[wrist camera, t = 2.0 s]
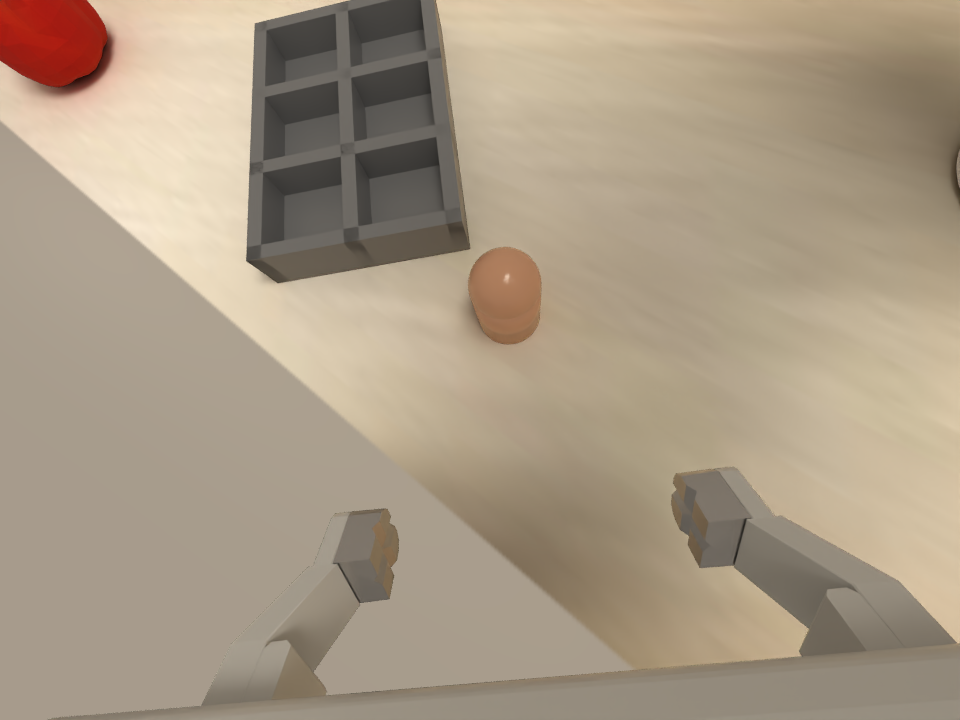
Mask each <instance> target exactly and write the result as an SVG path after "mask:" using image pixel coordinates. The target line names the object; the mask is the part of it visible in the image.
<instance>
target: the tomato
mask: <svg viewBox="0 0 960 720" xmlns="http://www.w3.org/2000/svg"><path fill="white" fill-rule="evenodd" d="M107 39H108V38H107V33H106V28H105V25H104V23H103V22H102V20H101V18H100V17H99V15H98V14H97V12H96V10H95V9H94V8H93V7H92V6H91V5H90V3H89V2H88V1H87V0H0V61H1V62H3V63H4V64H6V65H8V66H9V67H11V68H12V69H14V70H15V71H17V72H18V73H20V74H21V75H23V76H25V77H27V78H30V79H32V80H34V81H36V82H39V83H41V84H44V85H48V86H54V87H61V86H65V85H67V84H70V83H72V82H73V81H74V80H75V79H77V78H80V77H82V76H85V75H89V74H90V73H91V72H92V71H94V70H95V69H96V68H97V65H98V63H99V61H100V59H101V57H102V49H103V48H104V46H105V44H106V41H107Z"/></svg>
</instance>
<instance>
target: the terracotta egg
mask: <svg viewBox="0 0 960 720" xmlns="http://www.w3.org/2000/svg"><path fill="white" fill-rule="evenodd" d="M541 284H542V283H541V275H540V272H539V269H538V267H537V265H536V264H535V262H534V261H533V260H532V259H531V258H530V257H529V256H528V255H527V254H526V253H524V252H522V251H520V250H518V249H515V248H511V247H500V248H495V249H492V250H490V251H488V252H486V253H485V254H483V255H482V256H481V257H480V258H479V259H478V260H477V261H476V262H475V264H474V265H473V267H472V269H471V272H470V274H469V279H468V290H469V295H470V298H471V301H472V304H473V306H474V309H475V312H476V314H477V317H478V320H479V322H480V325H481V327H482V329H483V331H484V332H485V334H486V335H487V336H488V337H489V338H491V339H492V340H494V341H496V342H498V343H502V344H515V343H519V342H522V341H524V340H525V339H527V338H528V337H529V336H531V335H532V334H533V332H534V331H535V329H536V328H537V326H538V323H539V318H540V302H541Z"/></svg>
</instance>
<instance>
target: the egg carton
mask: <svg viewBox="0 0 960 720" xmlns="http://www.w3.org/2000/svg"><path fill="white" fill-rule="evenodd" d="M466 249H470V244H469V237H468V229H467V221H466V214H465V206H464V198H463V191H462V183H461V175H460V167H459V160H458V152H457V144H456V137H455V129H454V121H453V114H452V106H451V98H450V91H449V83H448V75H447V68H446V60H445V52H444V45H443V37H442V29H441V24H440V19H439V14H438V9H437V4H436V0H350V1H345V2H341V3H337V4H333V5H329V6H325V7H321V8H317V9H313V10H308V11H304V12H300V13H296V14H292V15H288V16H284V17H280V18H275V19H271V20H267V21H263V22H259V23H255V33H254V61H253V89H252V117H251V145H250V173H249V201H248V229H247V257H246V261H247V262H249V263H250V264H251V265H253V266H254V267H256V268H257V269H259V270H260V271H261V272H263V273H264V274H266V275H267V276H269V277H270V278H271V279H273V280H274V281H276V282H277V283H281V282H287V281H292V280H298V279H304V278H309V277H315V276H320V275H326V274H332V273H337V272H343V271H349V270H354V269H360V268H365V267H371V266H377V265H382V264H388V263H393V262H399V261H405V260H410V259H416V258H421V257H427V256H433V255H438V254H444V253H450V252H455V251H461V250H466Z"/></svg>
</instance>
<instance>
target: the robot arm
mask: <svg viewBox="0 0 960 720" xmlns="http://www.w3.org/2000/svg"><path fill="white" fill-rule="evenodd" d="M956 170H957V179H958V184H959V188H960V150H959V153H958V158H957V169H956ZM673 484H674V486H675V488H676V491H675V492H674V493H673V494H672V499H671V505H672V511H673V515H674V517H675V520H676V523H677V525H678V527H679V529H680V530H681V531H683V532H684V533H686V534H687V535H688V536H689V539H688V546H689V548H690V550H691V552H692V554H693V556H694V558H695V560H696V562H697V563H698V565H699V567H700V568H707V567H721V566H734V568H736V569H737V570H738V571H739V572H740V573H742V574H743V575H744V576H745V577H747V578H748V579H749V580H750V581H751V582H753V583H754V584H755V585H756V586H757V587H759V588H760V589H761V590H762V591H764V592H765V593H766V594H767V595H768V596H770V597H771V598H772V599H773V600H774V601H776V602H777V603H778V604H779V605H781V606H782V607H783V608H784V609H785V610H787V611H788V612H789V613H790V614H792V615H793V616H794V617H795V618H796V619H798V620H799V621H800V622H801V623H802V624H804V625H805V626H806V627H807V628H809V630H808V632H807V634H806V636H805V638H804V640H803V643H802V645H801V647H800V650H799V652H800V654H801V655H802V656H801V657H789V658H777V659H765V660H752V661H740V662H728V663H716V664H704V665H691V666H679V667H667V668H655V669H642V670H630V671H618V672H606V673H594V674H581V675H569V676H558V677H545V678H533V679H521V680H509V681H496V682H484V683H472V684H460V685H449V686H436V687H424V688H411V689H399V690H387V691H375V692H363V693H351V694H340V695H328V696H325V695H326V689H325V687H324V685H323V684H322V683H321V681H320V680H319V679H318V677H317V676H316V675H315V674H314V673H313V672H314V670H315V669H316V668H317V666H318V665H319V663H320V662H321V660H322V659H323V657H324V656H325V655H326V653H327V652H328V650H329V649H330V647H331V646H332V645H333V643H334V642H335V640H336V639H337V637H338V636H339V635H340V633H341V632H342V630H343V629H344V627H345V626H346V624H347V623H348V622H349V620H350V619H351V617H352V616H353V614H354V613H355V612H356V610H357V609H358V607H359V606H360V604H359V603H364V602H371V601H379V600H387V599H390V594H391V588H392V584H393V578H394V574H393V572H392V570H391V567H392V566H393V564H394V563H395V562H396V561H397V557H398V551H399V550H398V549H399V539H398V534H397V530H396V528H395V526H394V525H392V524H390V523H389V522H390V518H391V516H390V514H389V511H388V509H374V510H363V511H352V512H344V513H335V515H334V516H333V517H332V518H331V520H330V523H329V525H328V528H327V531H326V533H325V536H324V538H323V541H322V544H321V546H320V549H319V552H318V554H317V557H316V559H315V562H314V565H313V566H311V567H307V568H306V569H305V570H304V571H303V572H302V574H300V575H299V576H298V577H297V578H296V579H295V580H294V581H293V582H292V583H291V584H290V585H289V587H287V588H286V589H285V590H284V591H283V592H282V593H281V594H280V595H279V596H278V597H277V598H276V600H274V602H272V603H271V604H270V605H269V606H268V607H267V608H266V610H264V611H263V612H262V613H261V614H260V615H259V616H258V617H257V618H256V620H254V621H253V622H252V623H251V624H250V625H249V626H248V627H247V628H246V629H245V630H244V631H243V633H241V635H239V636H238V638H236V639H235V640H234V641H233V642H232V644H231V646H230V647H229V649H228V652H227V654H226V656H225V658H224V660H223V662H222V664H221V666H220V668H219V670H218V672H217V674H216V676H215V678H214V681H213V682H212V685H211V687H210V689H209V691H208V693H207V695H206V697H205V699H204V701H203V703H202V705H201V706H194V707H182V708H169V709H157V710H145V711H133V712H121V713H108V714H96V715H83V716H70V717H59V718H52V719H48V720H960V643H957V642H956V641H955V640H954V639H953V638H952V637H951V636H950V635H949V634H948V633H947V632H946V631H945V630H944V629H943V627H942V626H941V625H940V624H939V623H938V622H937V621H936V620H935V619H934V618H933V617H932V616H931V615H930V614H929V613H928V612H927V610H926V609H925V608H924V607H923V606H922V605H921V604H920V603H919V602H918V601H917V600H916V599H915V598H914V597H913V596H912V595H911V593H910V592H909V591H908V590H907V589H906V588H905V587H904V586H903V585H902V584H901V583H900V582H899V581H898V580H896V579H894V578H892V577H890V576H889V575H887V574H885V573H883V572H881V571H880V570H878V569H876V568H874V567H873V566H871V565H869V564H867V563H865V562H864V561H862V560H860V559H858V558H856V557H855V556H853V555H851V554H849V553H847V552H846V551H844V550H842V549H840V548H838V547H837V546H835V545H833V544H831V543H829V542H828V541H826V540H824V539H822V538H820V537H819V536H817V535H815V534H813V533H811V532H810V531H808V530H806V529H804V528H802V527H801V526H799V525H797V524H795V523H793V522H792V521H790V520H788V519H786V518H784V517H783V516H775V515H774V514H773V513H772V512H771V510H770V509H769V508H768V507H767V505H766V504H765V503H764V502H763V500H762V499H761V498H760V496H759V495H758V494H757V493H756V491H755V490H754V489H753V488H752V486H751V485H750V484H749V483H748V481H747V480H746V479H745V477H744V476H743V475H742V474H741V472H740V471H739V470H738V469H737V468H735V467H734V466H733V467H725V468H717V469H707V470H699V471H691V472H684V473H676V474H675V476H674V480H673Z"/></svg>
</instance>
